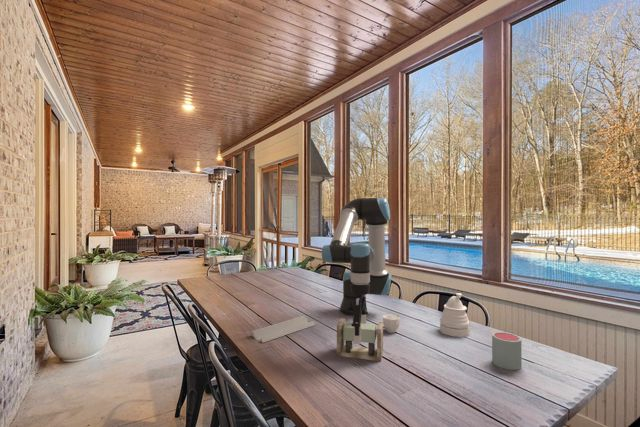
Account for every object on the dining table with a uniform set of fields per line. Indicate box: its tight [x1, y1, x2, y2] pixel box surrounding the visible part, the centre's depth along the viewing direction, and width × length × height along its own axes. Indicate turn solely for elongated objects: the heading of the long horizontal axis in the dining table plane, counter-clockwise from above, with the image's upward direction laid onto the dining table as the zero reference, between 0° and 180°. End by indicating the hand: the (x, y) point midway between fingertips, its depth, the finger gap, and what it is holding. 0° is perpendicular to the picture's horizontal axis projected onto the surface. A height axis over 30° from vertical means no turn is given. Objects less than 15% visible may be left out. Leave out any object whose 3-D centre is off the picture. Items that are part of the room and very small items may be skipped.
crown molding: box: [247, 315, 316, 344], centre depth 149 cm, size 31×12×4 cm, turn 135°
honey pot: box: [439, 292, 471, 338], centre depth 147 cm, size 13×13×18 cm
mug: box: [491, 331, 523, 371], centre depth 117 cm, size 14×9×10 cm
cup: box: [382, 313, 401, 334], centre depth 149 cm, size 8×10×7 cm
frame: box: [336, 317, 384, 362], centre depth 123 cm, size 17×8×12 cm, turn 74°
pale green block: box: [344, 321, 377, 344], centre depth 123 cm, size 12×6×5 cm, turn 75°
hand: (360, 336), depth 124 cm, fingers open, 13 cm apart
